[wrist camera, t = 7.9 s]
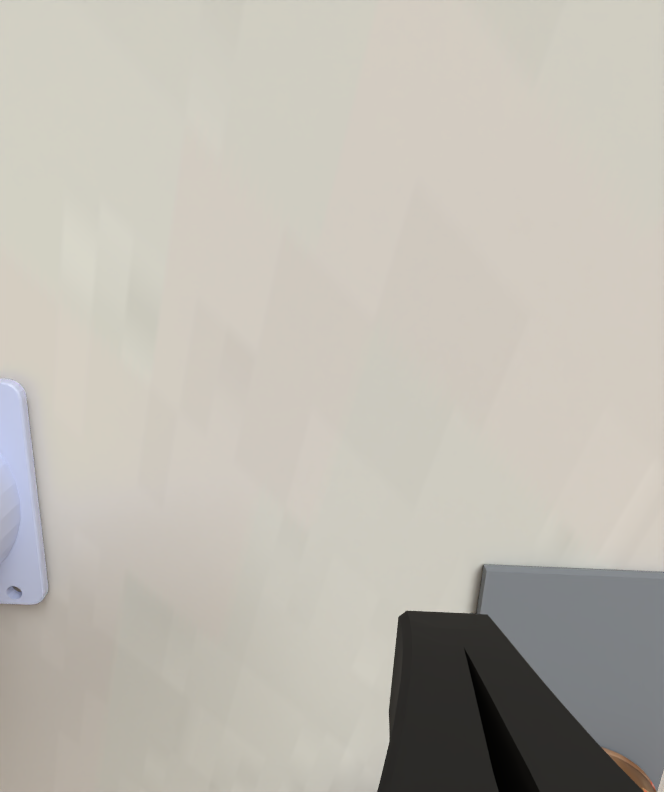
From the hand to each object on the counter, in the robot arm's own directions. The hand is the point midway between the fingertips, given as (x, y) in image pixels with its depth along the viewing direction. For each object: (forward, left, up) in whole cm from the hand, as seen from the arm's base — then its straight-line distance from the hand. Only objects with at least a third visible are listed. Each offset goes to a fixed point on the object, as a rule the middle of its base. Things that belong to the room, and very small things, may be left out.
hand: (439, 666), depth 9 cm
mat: (+8, -14, -10) cm, 19 cm away
